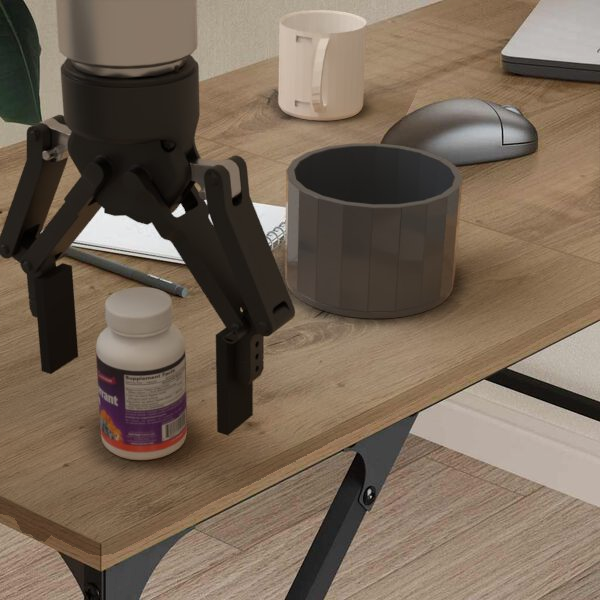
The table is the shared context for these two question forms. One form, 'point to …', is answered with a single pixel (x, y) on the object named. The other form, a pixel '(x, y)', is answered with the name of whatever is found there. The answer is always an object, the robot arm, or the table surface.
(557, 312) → the table surface
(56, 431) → the table surface
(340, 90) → the mug
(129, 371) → the pill bottle
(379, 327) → the table surface
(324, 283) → the canister
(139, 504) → the table surface
